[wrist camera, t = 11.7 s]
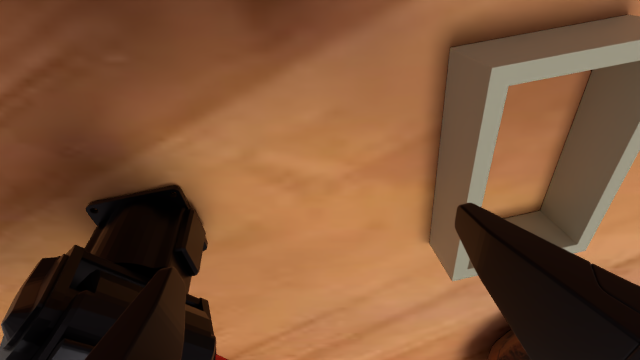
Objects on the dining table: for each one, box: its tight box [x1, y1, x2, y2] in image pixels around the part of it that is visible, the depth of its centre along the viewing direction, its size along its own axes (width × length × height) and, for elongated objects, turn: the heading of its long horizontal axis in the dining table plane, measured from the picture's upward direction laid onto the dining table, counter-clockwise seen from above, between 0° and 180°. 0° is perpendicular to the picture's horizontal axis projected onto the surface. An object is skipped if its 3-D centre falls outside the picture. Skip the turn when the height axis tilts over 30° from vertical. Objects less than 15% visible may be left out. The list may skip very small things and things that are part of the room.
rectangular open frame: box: [429, 15, 640, 281], centre depth 25 cm, size 12×18×4 cm
